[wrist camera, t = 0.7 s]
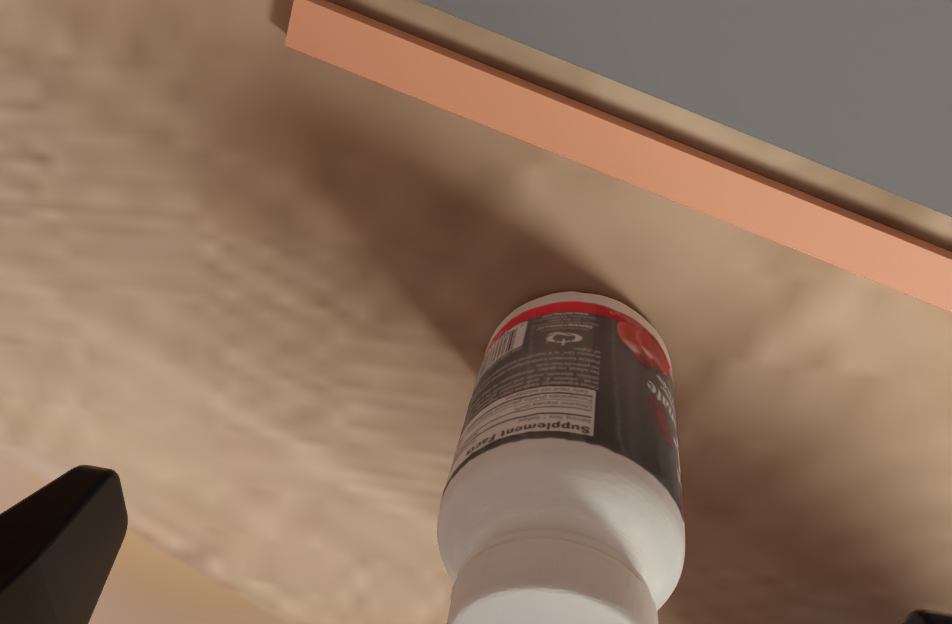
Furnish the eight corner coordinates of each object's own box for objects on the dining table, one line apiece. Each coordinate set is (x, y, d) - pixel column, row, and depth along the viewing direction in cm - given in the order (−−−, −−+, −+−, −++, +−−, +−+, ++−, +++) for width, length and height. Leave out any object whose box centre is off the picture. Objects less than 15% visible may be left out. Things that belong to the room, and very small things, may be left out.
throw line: (1033, 336, 20) (1043, 349, 20) (293, 39, 20) (284, 45, 19) (1067, 298, 20) (1079, 311, 19) (303, -10, 19) (294, -5, 19)
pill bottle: (696, 417, 23) (730, 737, 15) (525, 455, 25) (473, 760, 17) (638, 260, 21) (641, 536, 13) (456, 314, 23) (355, 586, 15)
